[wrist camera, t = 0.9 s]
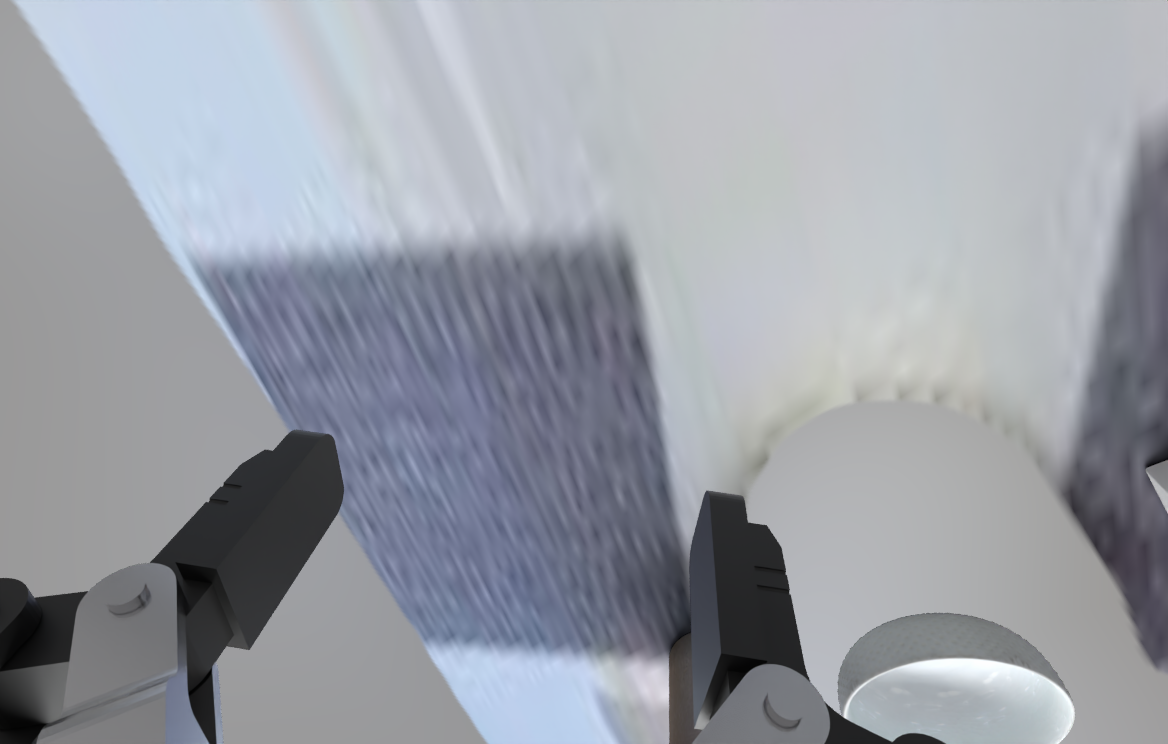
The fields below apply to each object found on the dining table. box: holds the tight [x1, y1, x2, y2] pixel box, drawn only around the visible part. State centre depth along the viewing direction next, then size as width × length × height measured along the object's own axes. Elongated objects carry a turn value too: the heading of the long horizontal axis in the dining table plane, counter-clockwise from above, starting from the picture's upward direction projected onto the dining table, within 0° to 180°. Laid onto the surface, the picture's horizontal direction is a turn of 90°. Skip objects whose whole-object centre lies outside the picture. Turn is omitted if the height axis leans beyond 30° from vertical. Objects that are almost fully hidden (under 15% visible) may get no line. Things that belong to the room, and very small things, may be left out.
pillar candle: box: [669, 633, 702, 744], centre depth 52 cm, size 10×10×15 cm
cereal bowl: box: [838, 613, 1075, 744], centre depth 50 cm, size 17×17×7 cm
